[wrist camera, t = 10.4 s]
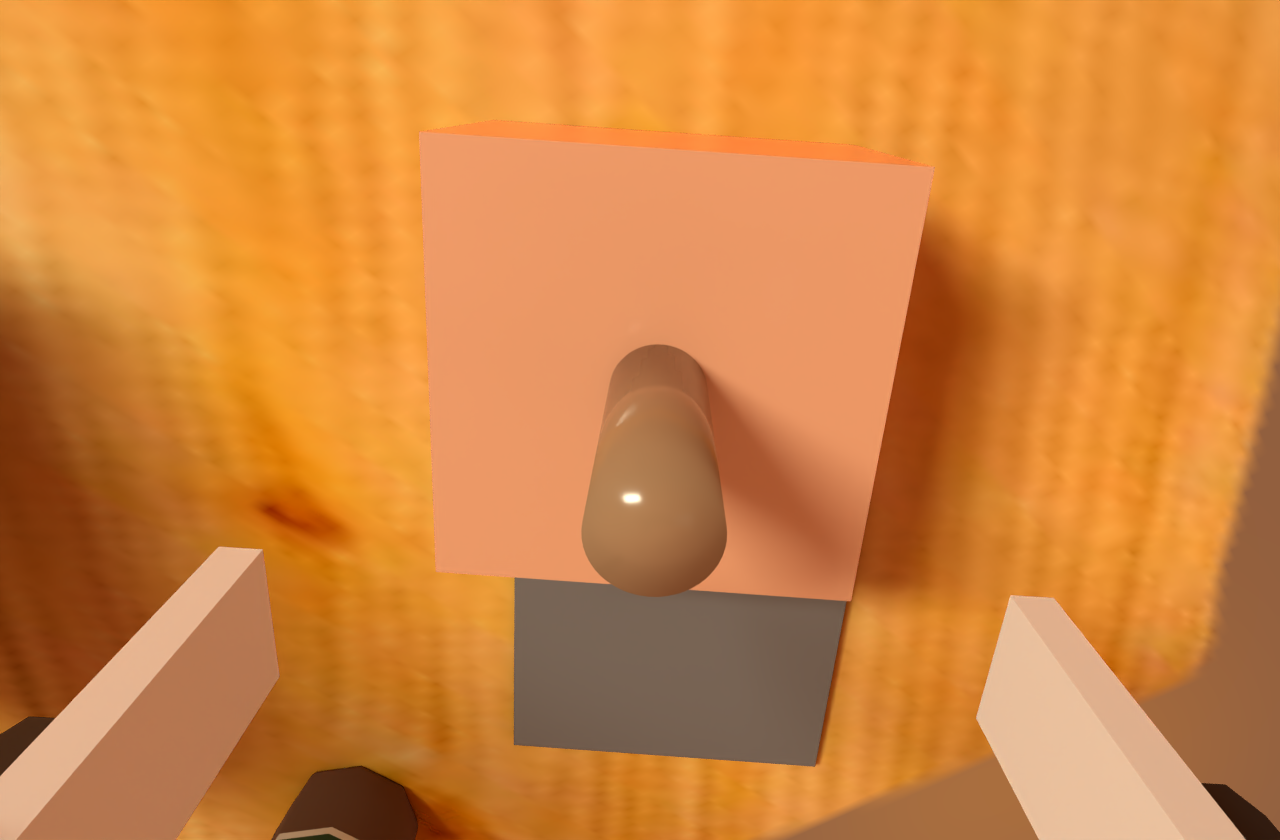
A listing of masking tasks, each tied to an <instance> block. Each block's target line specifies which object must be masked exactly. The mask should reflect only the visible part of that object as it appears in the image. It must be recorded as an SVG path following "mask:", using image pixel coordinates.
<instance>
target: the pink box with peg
mask: <svg viewBox="0 0 1280 840" xmlns="http://www.w3.org/2000/svg"><path fill="white" fill-rule="evenodd" d="M419 140H420V166H421V192H422V219H423V245H424V271H425V298H426V324H427V350H428V376H429V403H430V429H431V455H432V482H433V508H434V534H435V560H436V572H446V573H460V574H474V575H488V576H502V577H516V578H530V579H544V580H558V581H572V582H586V583H601V584H612V585H613V586H615V587H617V588H619V589H621V590H623V591H626V592H628V593H631V594H635V595H639V596H647V597H663V596H670V595H675V594H679V593H682V592H685V591H687V590H699V591H713V592H727V593H741V594H755V595H769V596H783V597H797V598H811V599H825V600H839V601H851V598H852V593H853V588H854V583H855V578H856V572H857V567H858V562H859V557H860V552H861V547H862V541H863V536H864V531H865V526H866V521H867V516H868V510H869V505H870V500H871V495H872V490H873V484H874V479H875V474H876V469H877V464H878V459H879V453H880V448H881V443H882V438H883V433H884V428H885V422H886V417H887V412H888V407H889V402H890V397H891V391H892V386H893V381H894V376H895V371H896V365H897V360H898V355H899V350H900V345H901V340H902V334H903V329H904V324H905V319H906V314H907V309H908V303H909V298H910V293H911V288H912V283H913V278H914V272H915V267H916V262H917V257H918V252H919V247H920V241H921V236H922V231H923V226H924V221H925V215H926V210H927V205H928V200H929V195H930V190H931V184H932V179H933V174H934V169H935V167H933V166H929V165H925V164H922V163H918V162H914V161H911V160H907V159H903V158H900V157H896V156H893V155H889V154H885V153H882V152H878V151H874V150H871V149H867V148H863V147H860V146H856V145H847V144H833V143H818V142H804V141H789V140H774V139H760V138H745V137H731V136H716V135H702V134H687V133H672V132H658V131H643V130H629V129H614V128H600V127H585V126H571V125H556V124H541V123H527V122H512V121H498V120H491V121H485V122H478V123H472V124H466V125H459V126H453V127H446V128H440V129H433V130H427V131H420V132H419Z"/></svg>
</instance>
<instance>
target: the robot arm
mask: <svg viewBox="0 0 1280 840" xmlns="http://www.w3.org/2000/svg"><path fill="white" fill-rule="evenodd" d="M279 677H280V676H279V668H278V661H277V653H276V646H275V638H274V631H273V623H272V615H271V608H270V600H269V593H268V585H267V578H266V570H265V562H264V555H263V549H247V548H231V547H218V548H217V549H216V550H215V551H214V552H213V553H212V554H211V555H210V556H209V557H208V558H207V560H206V561H205V562H204V563H203V564H202V565H201V566H200V567H199V568H198V569H197V570H196V571H195V572H194V573H193V574H192V575H191V576H190V577H189V578H188V579H187V581H186V582H185V583H184V584H183V585H182V586H181V587H180V588H179V589H178V590H177V591H176V592H175V593H174V594H173V595H172V596H171V597H170V598H169V599H168V600H167V602H166V603H165V604H164V605H163V606H162V607H161V608H160V609H159V610H158V611H157V612H156V613H155V614H154V615H153V616H152V617H151V618H150V619H149V620H148V621H147V623H146V624H145V625H144V626H143V627H142V628H141V629H140V630H139V631H138V632H137V633H136V634H135V635H134V636H133V637H132V638H131V639H130V640H129V641H128V642H127V644H126V645H125V646H124V647H123V648H122V649H121V650H120V651H119V652H118V653H117V654H116V655H115V656H114V657H113V658H112V659H111V660H110V661H109V662H108V664H107V665H106V666H105V667H104V668H103V669H102V670H101V671H100V672H99V673H98V674H97V675H96V676H95V677H94V678H93V679H92V680H91V681H90V682H89V683H88V685H87V686H86V687H85V688H84V689H83V690H82V691H81V692H80V693H79V694H78V695H77V696H76V697H75V698H74V699H73V700H72V701H71V702H70V703H69V704H68V706H67V707H66V708H65V709H64V710H63V711H62V712H61V713H60V714H59V715H58V716H57V717H56V718H46V717H28V718H26V719H24V720H23V721H21V722H20V723H18V724H16V725H15V726H13V727H11V728H10V729H8V730H7V731H5V732H3V733H2V734H0V840H176V839H177V837H178V835H179V834H180V832H181V831H182V829H183V828H184V826H185V824H186V823H187V821H188V820H189V818H190V817H191V815H192V813H193V812H194V810H195V809H196V807H197V806H198V804H199V802H200V801H201V799H202V798H203V796H204V795H205V793H206V791H207V790H208V788H209V787H210V785H211V784H212V782H213V780H214V779H215V777H216V776H217V774H218V773H219V771H220V769H221V768H222V766H223V765H224V763H225V762H226V760H227V758H228V757H229V755H230V754H231V752H232V751H233V749H234V747H235V746H236V744H237V743H238V741H239V740H240V738H241V736H242V735H243V733H244V732H245V730H246V729H247V727H248V725H249V724H250V722H251V721H252V719H253V718H254V716H255V714H256V713H257V711H258V710H259V708H260V707H261V705H262V703H263V702H264V700H265V699H266V697H267V696H268V694H269V692H270V691H271V689H272V688H273V686H274V685H275V683H276V681H277V680H278V678H279ZM976 719H977V721H978V723H979V725H980V727H981V729H982V731H983V732H984V734H985V736H986V738H987V740H988V742H989V744H990V746H991V748H992V750H993V752H994V754H995V756H996V758H997V759H998V761H999V763H1000V765H1001V767H1002V769H1003V771H1004V773H1005V775H1006V777H1007V779H1008V780H1009V782H1010V785H1011V786H1012V788H1013V790H1014V792H1015V794H1016V796H1017V798H1018V800H1019V802H1020V803H1021V806H1022V808H1023V810H1024V812H1025V814H1026V815H1027V817H1028V819H1029V821H1030V823H1031V825H1032V827H1033V829H1034V831H1035V833H1036V835H1037V837H1038V839H1039V840H1280V832H1279V831H1278V830H1277V829H1276V827H1275V826H1274V825H1273V824H1272V823H1271V822H1270V820H1269V819H1268V818H1267V817H1266V816H1265V815H1264V814H1263V813H1261V812H1260V811H1259V810H1258V809H1256V808H1255V807H1254V806H1252V805H1251V804H1250V803H1248V802H1247V801H1246V800H1244V799H1243V798H1242V797H1241V796H1239V795H1238V794H1237V793H1235V792H1234V791H1233V790H1232V789H1230V788H1229V787H1228V786H1227V785H1223V784H1206V783H1200V782H1199V780H1198V779H1197V778H1196V777H1195V775H1194V774H1193V773H1192V771H1191V770H1190V769H1189V768H1188V766H1187V765H1186V764H1185V763H1184V761H1183V760H1182V759H1181V758H1180V756H1179V755H1178V754H1177V753H1176V751H1175V750H1174V749H1173V748H1172V746H1171V745H1170V744H1169V742H1168V741H1167V740H1166V739H1165V737H1164V736H1163V735H1162V734H1161V732H1160V731H1159V730H1158V729H1157V727H1156V726H1155V725H1154V724H1153V722H1152V721H1151V720H1150V718H1149V717H1148V716H1147V715H1146V713H1145V712H1144V711H1143V710H1142V708H1141V707H1140V706H1139V705H1138V703H1137V702H1136V701H1135V700H1134V698H1133V697H1132V696H1131V695H1130V693H1129V692H1128V691H1127V690H1126V688H1125V687H1124V686H1123V684H1122V683H1121V682H1120V681H1119V679H1118V678H1117V677H1116V676H1115V674H1114V673H1113V672H1112V671H1111V669H1110V668H1109V667H1108V666H1107V664H1106V663H1105V662H1104V661H1103V659H1102V658H1101V657H1100V656H1099V654H1098V653H1097V652H1096V650H1095V649H1094V648H1093V647H1092V645H1091V644H1090V643H1089V642H1088V640H1087V639H1086V638H1085V637H1084V635H1083V634H1082V633H1081V632H1080V630H1079V629H1078V628H1077V627H1076V625H1075V624H1074V623H1073V622H1072V620H1071V619H1070V618H1069V617H1068V615H1067V614H1066V613H1065V611H1064V610H1063V609H1062V608H1061V606H1060V605H1059V604H1058V603H1057V601H1056V600H1055V599H1054V598H1046V597H1030V596H1013V595H1011V596H1010V599H1009V603H1008V606H1007V610H1006V614H1005V617H1004V621H1003V624H1002V628H1001V631H1000V635H999V638H998V642H997V646H996V649H995V653H994V656H993V660H992V663H991V667H990V670H989V674H988V677H987V681H986V685H985V688H984V692H983V695H982V699H981V702H980V706H979V709H978V713H977V717H976Z"/></svg>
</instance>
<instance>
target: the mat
mask: <svg viewBox="0 0 1280 840" xmlns="http://www.w3.org/2000/svg"><path fill="white" fill-rule="evenodd" d="M845 606H846V601H839V600H825V599H811V598H797V597H783V596H769V595H755V594H741V593H727V592H713V591H699V590H687V591H685V592H682V593H679V594H675V595H670V596H663V597H647V596H639V595H635V594H631V593H628V592H626V591H623V590H621V589H619V588H617V587H615V586H613V585H612V584H601V583H586V582H572V581H558V580H544V579H530V578H516V577H515V633H514V745H523V746H537V747H551V748H564V749H578V750H592V751H606V752H620V753H634V754H648V755H662V756H676V757H690V758H704V759H717V760H731V761H745V762H759V763H773V764H787V765H801V766H815V764H816V759H817V753H818V748H819V743H820V738H821V732H822V727H823V722H824V717H825V711H826V706H827V701H828V696H829V690H830V685H831V680H832V675H833V669H834V664H835V659H836V654H837V648H838V643H839V638H840V633H841V627H842V622H843V617H844V612H845Z"/></svg>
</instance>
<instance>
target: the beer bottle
mask: <svg viewBox="0 0 1280 840" xmlns="http://www.w3.org/2000/svg"><path fill="white" fill-rule="evenodd" d="M417 829H418V824H417V820H416V817H415V815H414V812H413V810H412V807H411V805H410V803H409V800H408V798H407V795H406V793H405V790H404V788H403V786H401V785H399V784H397V783H395V782H393V781H391V780H389V779H387V778H385V777H383V776H381V775H379V774H377V773H375V772H373V771H371V770H369V769H367V768H365V767H362V766H357V767H349V768H342V769H334V770H327V771H320V772H316V773H314V774H313V775H312V776H311V777H310V779H309V780H308V782H307V783H306V785H305V786H304V788H303V789H302V791H301V792H300V794H299V795H298V796H297V798H296V799H295V801H294V802H293V804H292V805H291V807H290V809H289V810H288V812H287V814H286V815H285V817H284V819H283V820H282V822H281V823H280V825H279V827H278V828H277V830H276V832H275V834H274V836H273V838H272V840H415V837H416V833H417Z"/></svg>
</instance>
